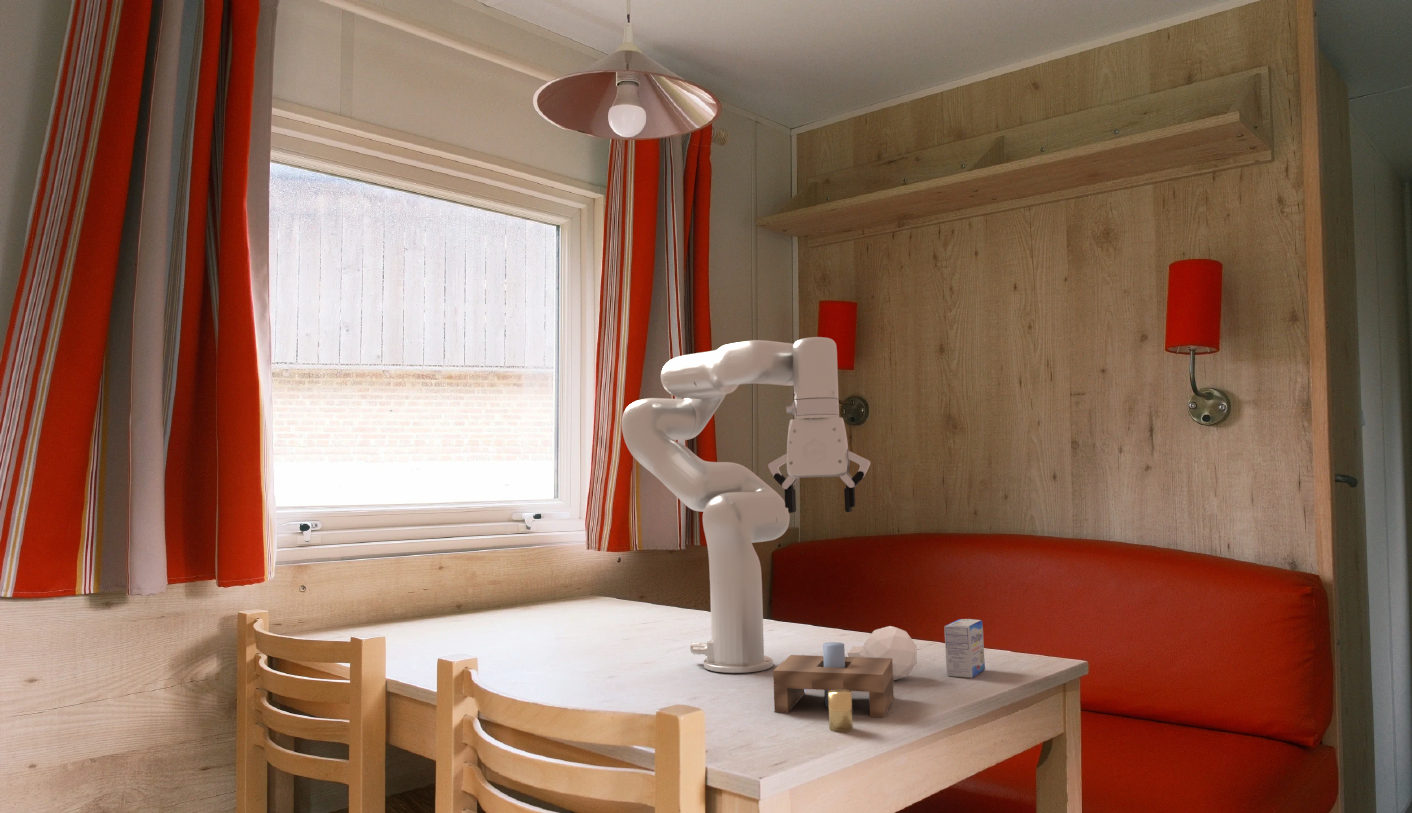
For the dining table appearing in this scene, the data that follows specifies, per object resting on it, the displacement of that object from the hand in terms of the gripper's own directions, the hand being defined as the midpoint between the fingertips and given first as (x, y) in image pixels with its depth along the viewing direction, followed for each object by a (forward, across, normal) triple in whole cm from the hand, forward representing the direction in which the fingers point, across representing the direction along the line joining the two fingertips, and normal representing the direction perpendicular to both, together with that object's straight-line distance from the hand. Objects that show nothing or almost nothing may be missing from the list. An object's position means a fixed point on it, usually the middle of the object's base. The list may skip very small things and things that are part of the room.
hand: (820, 511), depth 158 cm
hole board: (+28, +4, -14) cm, 32 cm away
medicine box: (+29, +22, +12) cm, 38 cm away
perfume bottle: (+28, +9, +6) cm, 30 cm away
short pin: (+28, +7, -27) cm, 40 cm away
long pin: (+28, +4, -14) cm, 32 cm away
